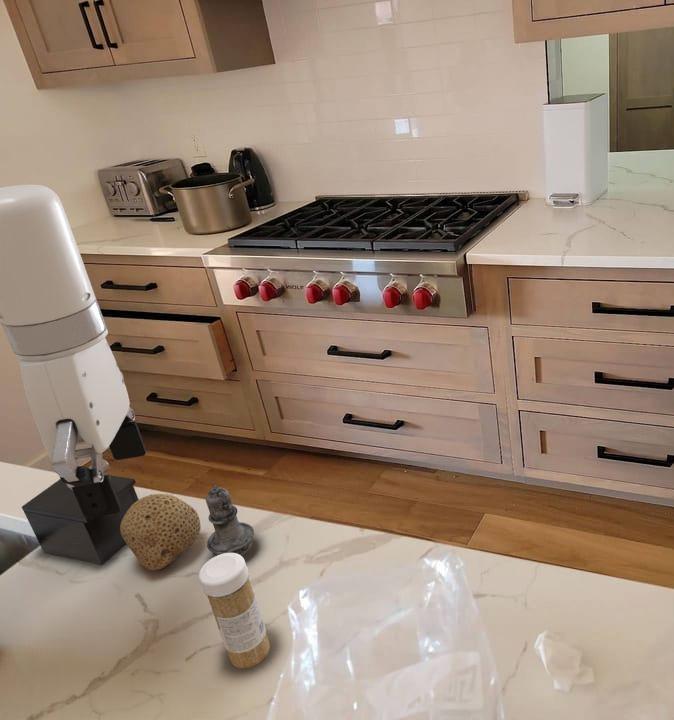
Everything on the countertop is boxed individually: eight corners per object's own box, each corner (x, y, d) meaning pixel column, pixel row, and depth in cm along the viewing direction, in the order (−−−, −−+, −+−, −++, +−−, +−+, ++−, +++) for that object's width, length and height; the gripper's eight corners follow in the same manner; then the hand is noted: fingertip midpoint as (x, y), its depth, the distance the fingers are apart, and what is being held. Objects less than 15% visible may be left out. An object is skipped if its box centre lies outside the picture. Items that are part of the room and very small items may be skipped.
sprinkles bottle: (239, 642, 77) (207, 552, 71) (278, 640, 77) (250, 549, 71) (225, 677, 73) (190, 584, 67) (266, 675, 73) (235, 581, 67)
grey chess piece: (224, 581, 86) (198, 506, 81) (207, 558, 90) (181, 485, 85) (267, 557, 89) (245, 483, 84) (248, 536, 93) (226, 465, 88)
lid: (136, 482, 93) (124, 453, 91) (87, 522, 86) (73, 491, 84) (74, 473, 96) (62, 444, 94) (23, 511, 89) (8, 480, 87)
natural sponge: (200, 527, 96) (180, 469, 92) (216, 562, 89) (195, 501, 85) (132, 555, 92) (107, 496, 88) (143, 594, 85) (117, 532, 81)
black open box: (150, 529, 97) (132, 482, 93) (105, 571, 90) (83, 522, 86) (94, 519, 100) (75, 473, 96) (46, 558, 93) (23, 511, 89)
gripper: (48, 301, 68) (104, 444, 75) (-35, 378, 52) (46, 548, 60) (126, 290, 69) (174, 432, 76) (68, 363, 54) (135, 532, 61)
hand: (118, 483), depth 68 cm, fingers open, 9 cm apart
